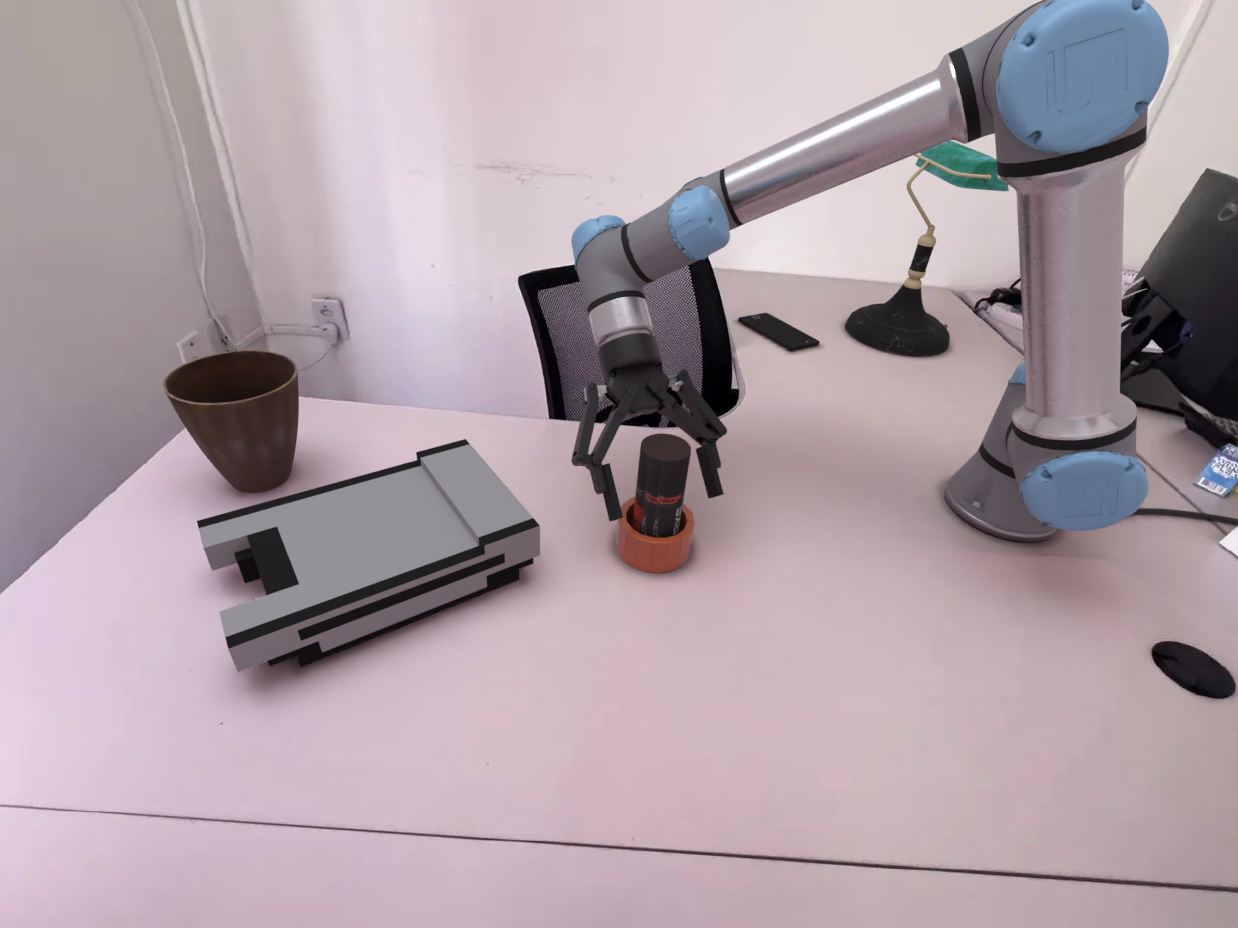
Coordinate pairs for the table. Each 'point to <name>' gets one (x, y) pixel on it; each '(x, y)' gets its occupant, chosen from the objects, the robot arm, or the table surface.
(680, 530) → the cup
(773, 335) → the cell phone
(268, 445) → the flower pot
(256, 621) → the game console
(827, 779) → the table surface
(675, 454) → the deodorant
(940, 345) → the banker's lamp
